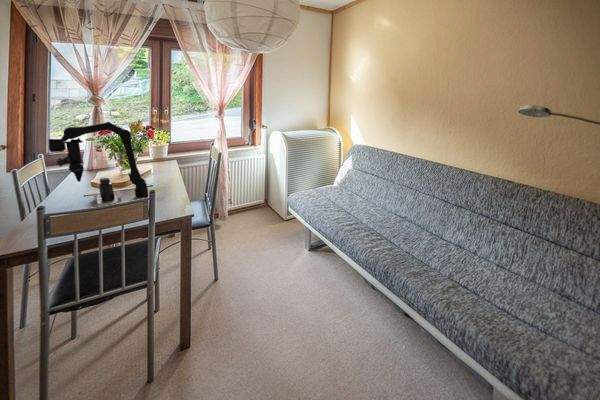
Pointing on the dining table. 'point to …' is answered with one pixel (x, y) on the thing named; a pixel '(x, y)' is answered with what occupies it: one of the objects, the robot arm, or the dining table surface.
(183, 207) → the dining table surface
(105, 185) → the supplement bottle
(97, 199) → the track
